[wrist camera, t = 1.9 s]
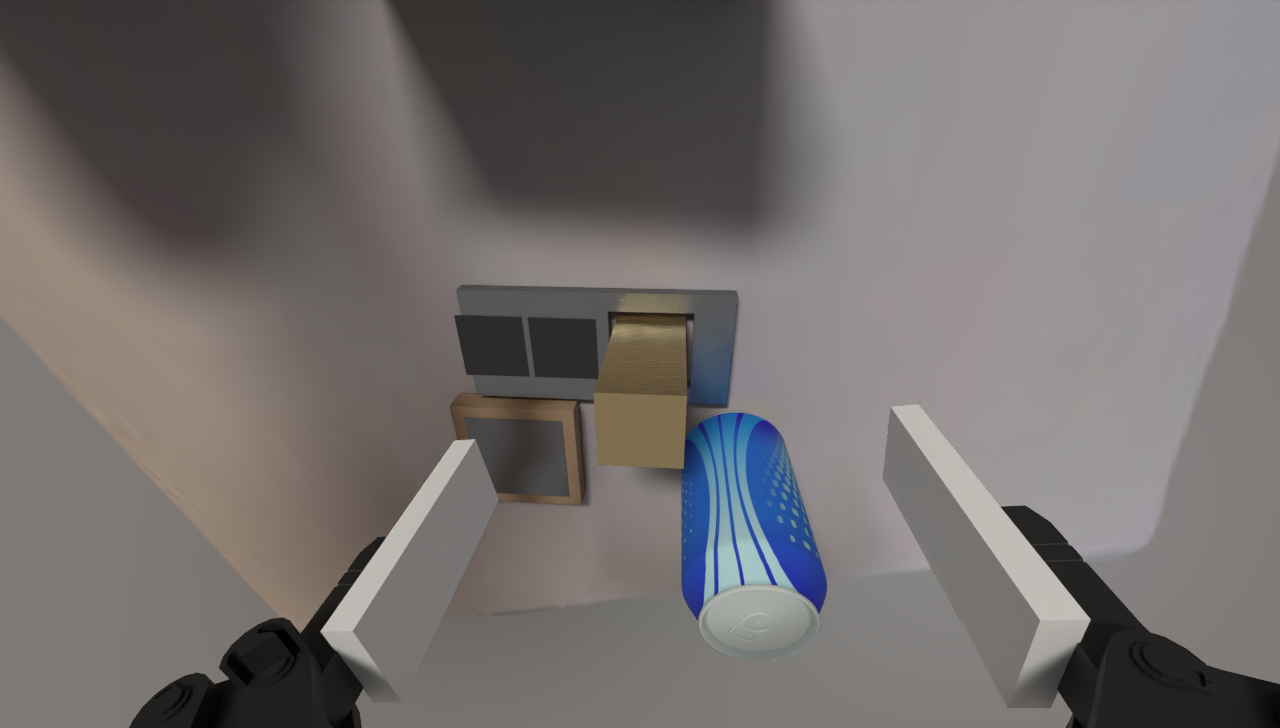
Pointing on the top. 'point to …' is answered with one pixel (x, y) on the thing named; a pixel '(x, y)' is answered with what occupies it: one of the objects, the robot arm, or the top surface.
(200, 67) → the top surface
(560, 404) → the pad
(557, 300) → the grey slotted plate
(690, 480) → the beer can
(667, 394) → the brass rectangular block
